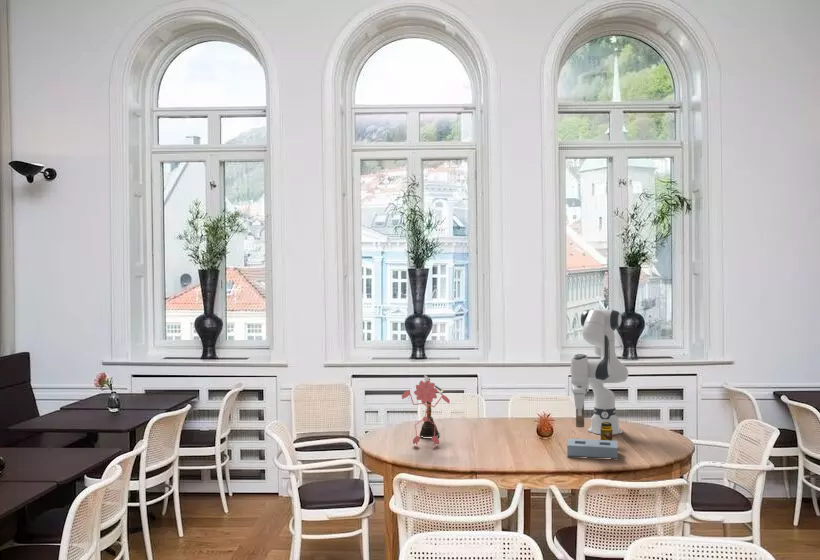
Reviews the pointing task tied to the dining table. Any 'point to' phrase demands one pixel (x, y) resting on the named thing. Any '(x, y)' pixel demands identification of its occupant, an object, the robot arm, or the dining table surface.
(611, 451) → the bore block
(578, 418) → the walnut pin
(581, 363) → the robot arm
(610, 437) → the condiment
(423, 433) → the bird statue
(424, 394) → the pink flower figurine
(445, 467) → the dining table surface
